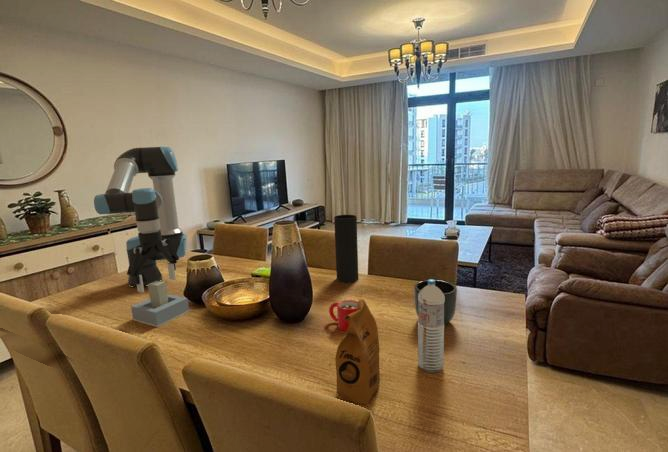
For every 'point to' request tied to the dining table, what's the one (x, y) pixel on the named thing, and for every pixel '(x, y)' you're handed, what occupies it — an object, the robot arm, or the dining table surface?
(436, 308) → the water bottle
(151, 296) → the box
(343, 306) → the mug
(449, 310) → the planter
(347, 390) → the coffee package
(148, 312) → the socket
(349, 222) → the vase
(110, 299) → the dining table surface
